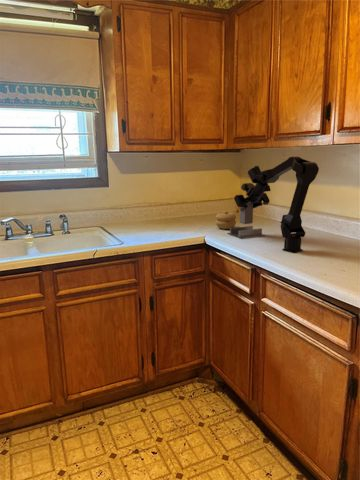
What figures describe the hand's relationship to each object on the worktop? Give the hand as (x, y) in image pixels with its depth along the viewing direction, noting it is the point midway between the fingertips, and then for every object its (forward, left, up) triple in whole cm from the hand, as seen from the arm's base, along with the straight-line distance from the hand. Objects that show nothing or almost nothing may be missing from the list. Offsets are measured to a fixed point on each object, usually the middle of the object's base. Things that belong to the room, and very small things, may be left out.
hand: (244, 209), depth 196 cm
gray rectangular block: (-1, 0, -7) cm, 7 cm away
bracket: (-1, 0, -13) cm, 13 cm away
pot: (+18, -3, -13) cm, 22 cm away
